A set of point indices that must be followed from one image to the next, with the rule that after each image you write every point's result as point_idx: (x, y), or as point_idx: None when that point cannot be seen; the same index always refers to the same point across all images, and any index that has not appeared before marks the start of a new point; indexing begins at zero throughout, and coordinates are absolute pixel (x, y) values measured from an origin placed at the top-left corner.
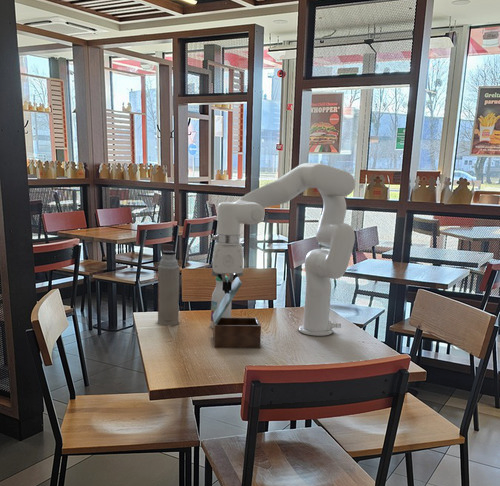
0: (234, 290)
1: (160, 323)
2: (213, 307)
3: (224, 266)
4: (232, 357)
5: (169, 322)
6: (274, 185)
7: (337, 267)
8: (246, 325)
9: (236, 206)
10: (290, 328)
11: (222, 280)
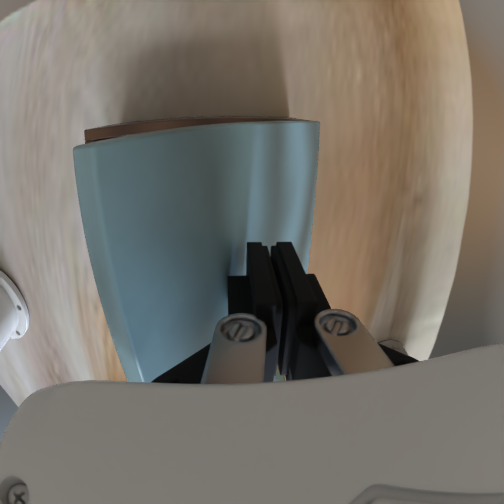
0: (201, 151)
1: (402, 346)
2: (281, 379)
3: (471, 477)
4: (234, 14)
5: (387, 346)
6: None
7: None
8: (150, 129)
9: None
10: (50, 329)
11: (356, 321)
